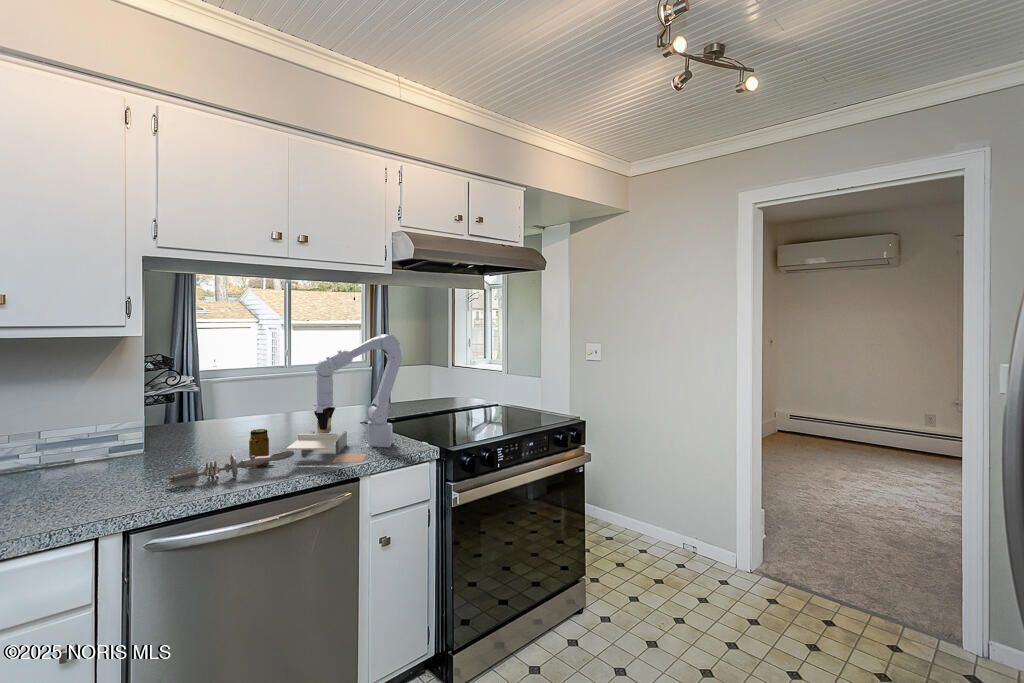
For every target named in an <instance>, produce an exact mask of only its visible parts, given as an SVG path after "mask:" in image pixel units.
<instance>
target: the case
mask: <svg viewBox="0 0 1024 683" xmlns="http://www.w3.org/2000/svg"><path fill="white" fill-rule="evenodd" d="M308 434H316V432H315V430H313V431H310V432H309V433H308ZM347 446H348V431H347V430H344V431H342V432H341V433H340V435H338V440H337V441H336V442H335V444H333V445H332V446H331V447H330V448H329V449H328V450H301V455H339V454H341V452H342V451H343V450H344V449H345V448H346V447H347Z"/></svg>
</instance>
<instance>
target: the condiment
mask: <svg viewBox="0 0 1024 683" xmlns="http://www.w3.org/2000/svg"><path fill="white" fill-rule="evenodd" d="M268 431H269V430H268V429H265V428H258V429H252V430H251V431H250V433H249V437H250V438H249V441H248V444H249V446H248V447H249V449H248V452H249V453H248V455H249V457H248V459H249V458H250V457H251V456H255V457H260V456H270V438H269V434H268V433H269V432H268ZM269 463H270V462H265V463H262V464H260V465H257V466H256V467H255V468H254V469H259V468H260V469H261V468H273V467H275V464H269ZM247 469H252V468H251V467H248V468H247Z"/></svg>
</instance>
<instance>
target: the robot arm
mask: <svg viewBox="0 0 1024 683" xmlns="http://www.w3.org/2000/svg"><path fill="white" fill-rule="evenodd" d="M400 346H401V343H400V342H399V340H398V338H396V336H395V335H392V334H387V333H384V334H382V333H381V334H380V335H378V336H377V335H376V336H375V337H373V338H370V339H368V340H366V341H365V342H362V343H361V344H359V345H357V346H356V347H353V348H352V349H350V350H347V349H343V350H341V349H339V350H338V351H337V353H335V354H333V355H331V356H326V357H325V359H322V360H319V361H318V362H317V363H316V366H315V371H316V373H317V375H316V378H317V379H316V403H313V407H316V410H314V412H313V413H314V415H315V417H316V419H317V420H318V423H319V427H320V430H326V429H327V423H328V418H331V419H332V418H333V414H334V412H335V411H336V407H335V406H334V379H333V375H334V372H336V371H338V370H341V369H342V368H344V367H346V366H349V365H350V364H352V362H353V360H354V359H355V358H357V357H359V356H361V355H363V354H365V353H367V352H370V351H372V350H380V351H382V352H383V353H384V355H385V357H386V359H387V363H386V365H385V368H384V371H383V374H382V377H381V379H380V383H379V386H378V389H377V392H376V395H375V397H374V399H373V400H372V401H371V404H370V406H369V407H368V408H367V409H366V416H367V418H368V421H367V443H366V444H365V448H366V447H380V448H390V447H391V446H392V444H393V443H394V441H393V439H394V438H393V423H391V422H387V420H388V418H389V401H390V397H391V394H392V392H393V388H394V385H395V382H396V378H397V375H398V372H399V369H400V367H401V363H402V361H403V356H402V350H401V347H400Z"/></svg>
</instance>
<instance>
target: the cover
mask: <svg viewBox="0 0 1024 683" xmlns="http://www.w3.org/2000/svg"><path fill="white" fill-rule="evenodd" d="M338 437H339V434H338V433H315V434H309V433H298V434H297V439H296V440H295V441H294V442H293V443H291V444H290V445H289V446H287V447H286V450H285V451H292V450H293V451H294V450H296V451H297V450H299V451H300V450H328V449H329V448H330V447H331V446H332V445H335V444H336V441H337V440H338Z"/></svg>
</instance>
